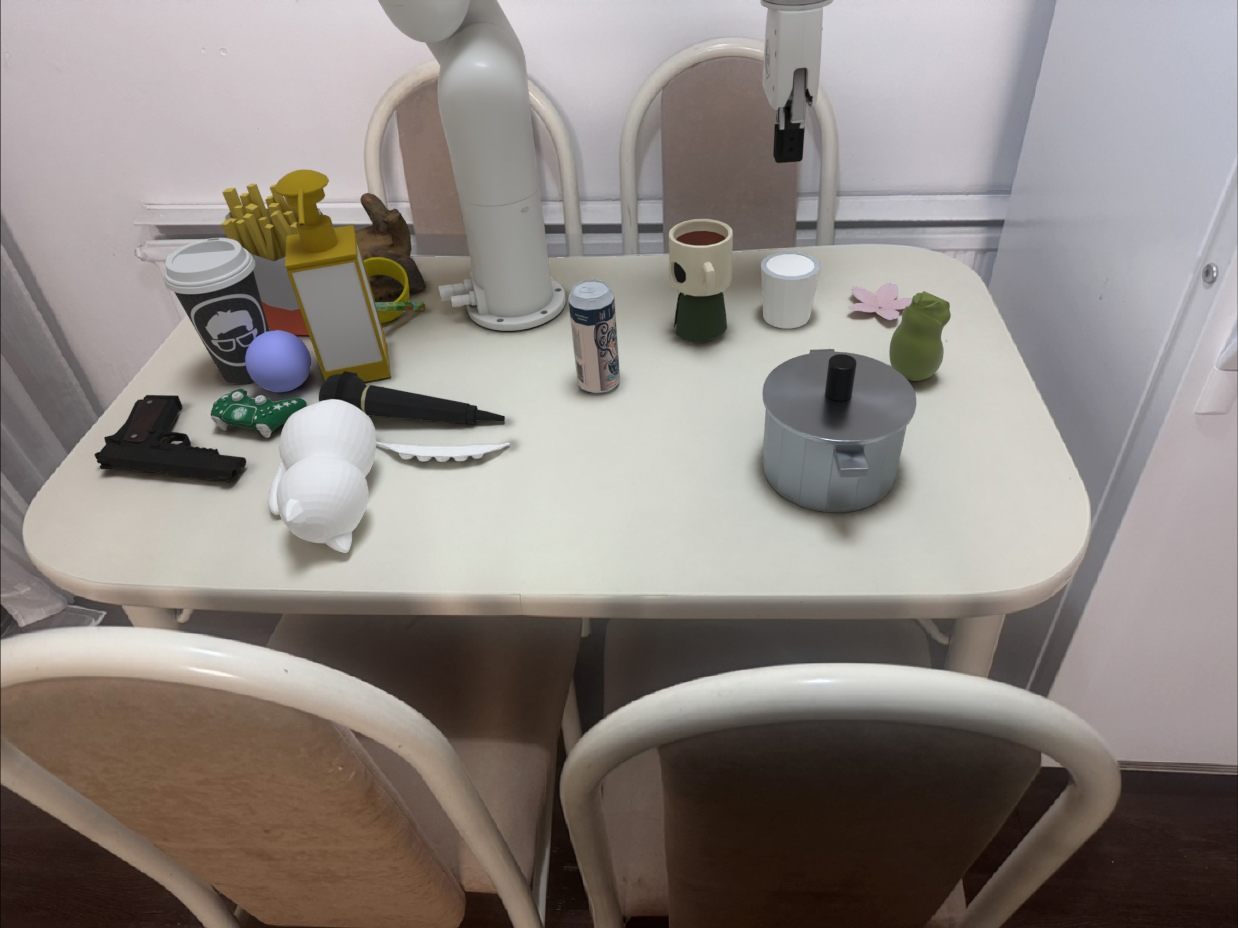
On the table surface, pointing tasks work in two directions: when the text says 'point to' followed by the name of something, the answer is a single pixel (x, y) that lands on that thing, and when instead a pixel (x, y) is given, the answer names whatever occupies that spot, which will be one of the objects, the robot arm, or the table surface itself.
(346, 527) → the cat figurine
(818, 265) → the white short cylinder
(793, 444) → the pot
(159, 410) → the pistol
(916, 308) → the pear
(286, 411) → the gaming controller
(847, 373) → the pot lid
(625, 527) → the table surface
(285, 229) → the french fries container
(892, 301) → the flower
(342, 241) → the soap bottle
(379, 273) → the bracelet
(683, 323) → the character mug
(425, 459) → the pea pod
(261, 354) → the sphere
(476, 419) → the microphone
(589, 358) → the beer can
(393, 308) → the pencil
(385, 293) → the figurine
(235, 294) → the coffee cup
